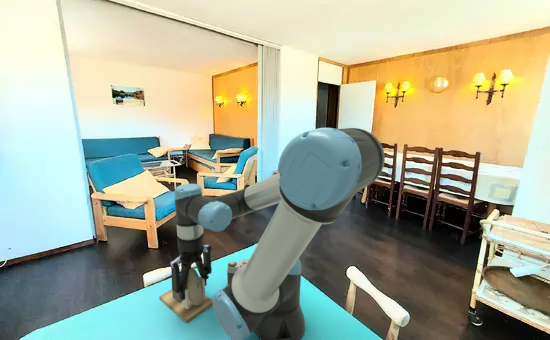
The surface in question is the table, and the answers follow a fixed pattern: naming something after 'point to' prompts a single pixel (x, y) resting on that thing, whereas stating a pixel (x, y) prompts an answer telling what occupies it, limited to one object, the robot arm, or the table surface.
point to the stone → (194, 287)
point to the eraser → (176, 296)
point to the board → (182, 311)
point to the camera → (234, 268)
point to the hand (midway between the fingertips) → (194, 300)
